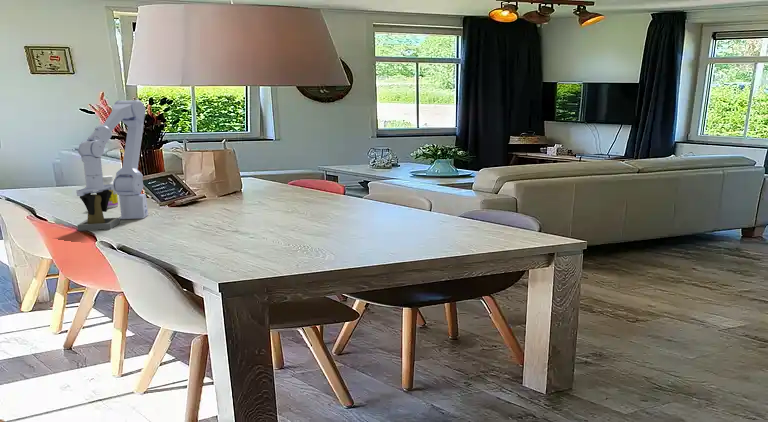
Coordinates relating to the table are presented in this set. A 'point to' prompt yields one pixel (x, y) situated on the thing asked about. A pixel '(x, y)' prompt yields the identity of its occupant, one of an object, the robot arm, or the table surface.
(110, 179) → the supplement bottle
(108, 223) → the socket holder
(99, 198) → the cork
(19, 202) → the table surface
